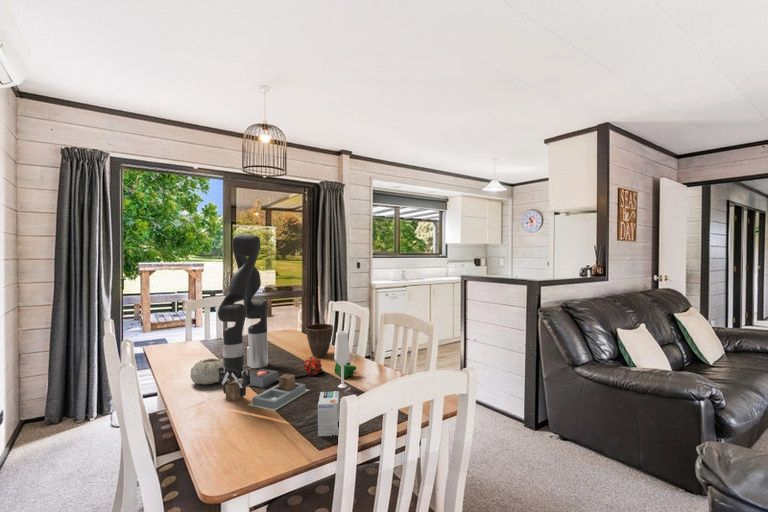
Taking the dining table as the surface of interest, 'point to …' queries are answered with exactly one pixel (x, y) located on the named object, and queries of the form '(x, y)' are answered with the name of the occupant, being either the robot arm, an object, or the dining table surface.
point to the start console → (263, 378)
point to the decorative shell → (206, 371)
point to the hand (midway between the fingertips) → (234, 394)
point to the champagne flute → (342, 354)
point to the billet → (287, 382)
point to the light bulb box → (328, 413)
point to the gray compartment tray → (277, 397)
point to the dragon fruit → (312, 366)
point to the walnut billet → (233, 391)
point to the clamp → (345, 370)
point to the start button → (261, 373)
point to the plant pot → (319, 338)
